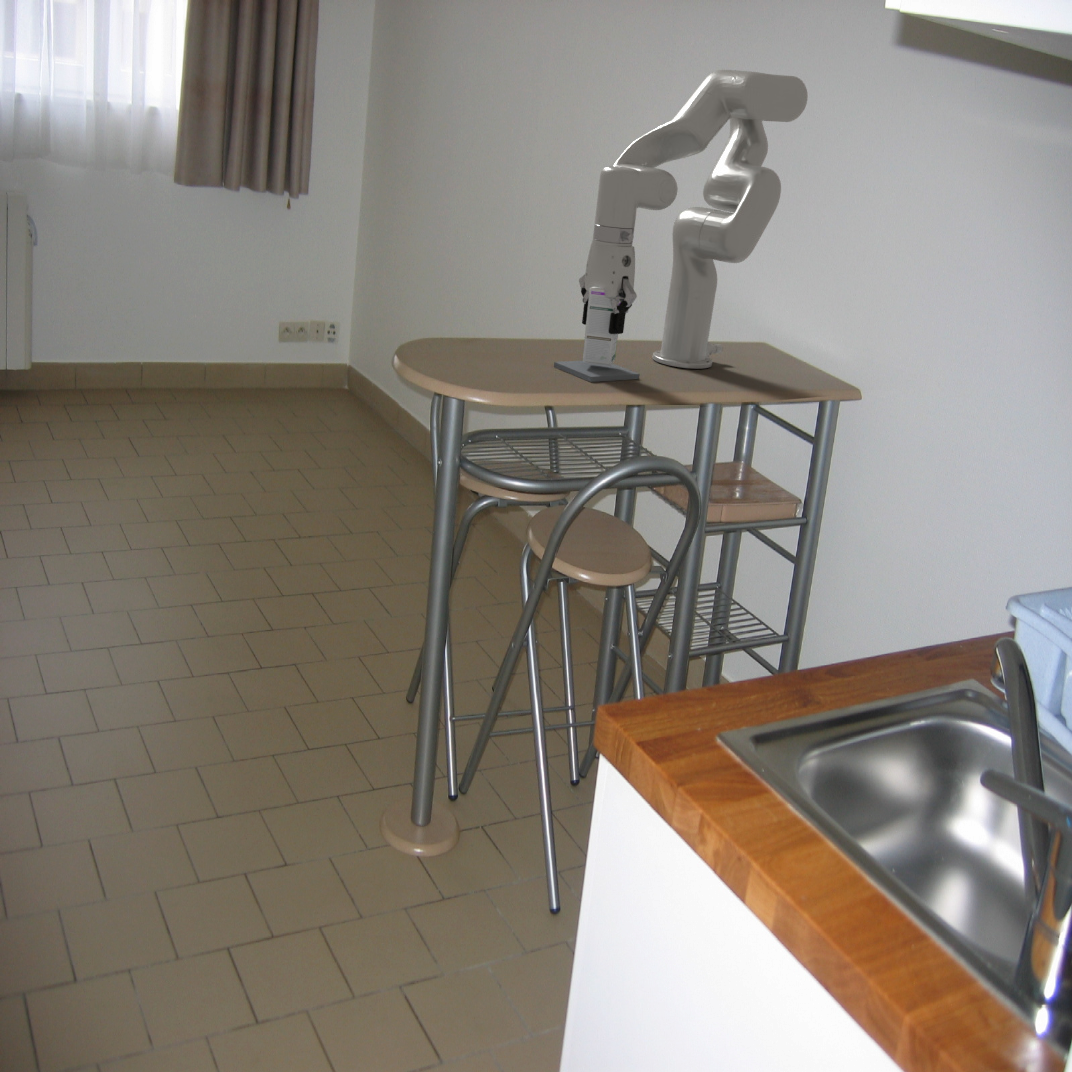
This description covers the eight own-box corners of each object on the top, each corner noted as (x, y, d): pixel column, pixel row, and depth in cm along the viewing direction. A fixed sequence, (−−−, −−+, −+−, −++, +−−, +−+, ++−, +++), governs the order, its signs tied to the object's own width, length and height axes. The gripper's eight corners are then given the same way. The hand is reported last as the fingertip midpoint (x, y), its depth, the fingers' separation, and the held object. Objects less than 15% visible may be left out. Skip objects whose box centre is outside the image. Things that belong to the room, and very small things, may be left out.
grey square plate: (601, 364, 230) (602, 359, 230) (639, 378, 221) (639, 373, 221) (553, 366, 223) (554, 361, 223) (590, 382, 214) (590, 376, 214)
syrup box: (611, 366, 218) (620, 290, 213) (580, 362, 219) (589, 286, 214) (615, 360, 224) (624, 286, 218) (585, 356, 225) (594, 282, 219)
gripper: (658, 243, 208) (645, 338, 215) (600, 229, 221) (590, 319, 228) (626, 242, 204) (614, 339, 211) (570, 228, 217) (560, 320, 224)
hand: (602, 328), depth 219 cm, fingers closed on syrup box, 7 cm apart
